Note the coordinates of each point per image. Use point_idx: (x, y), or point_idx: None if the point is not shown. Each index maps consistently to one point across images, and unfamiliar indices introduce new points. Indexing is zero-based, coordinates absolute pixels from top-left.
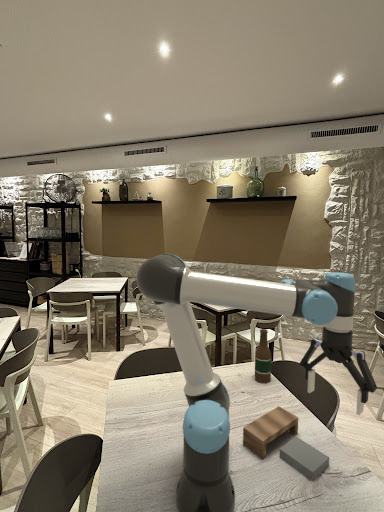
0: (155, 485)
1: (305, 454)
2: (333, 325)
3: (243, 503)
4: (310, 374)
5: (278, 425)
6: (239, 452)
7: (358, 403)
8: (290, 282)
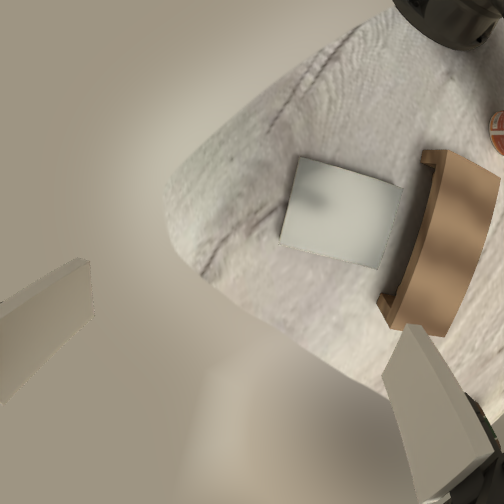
0: None
1: (337, 212)
2: None
3: (388, 18)
4: (468, 436)
5: (434, 251)
6: (467, 141)
7: (34, 288)
8: None
